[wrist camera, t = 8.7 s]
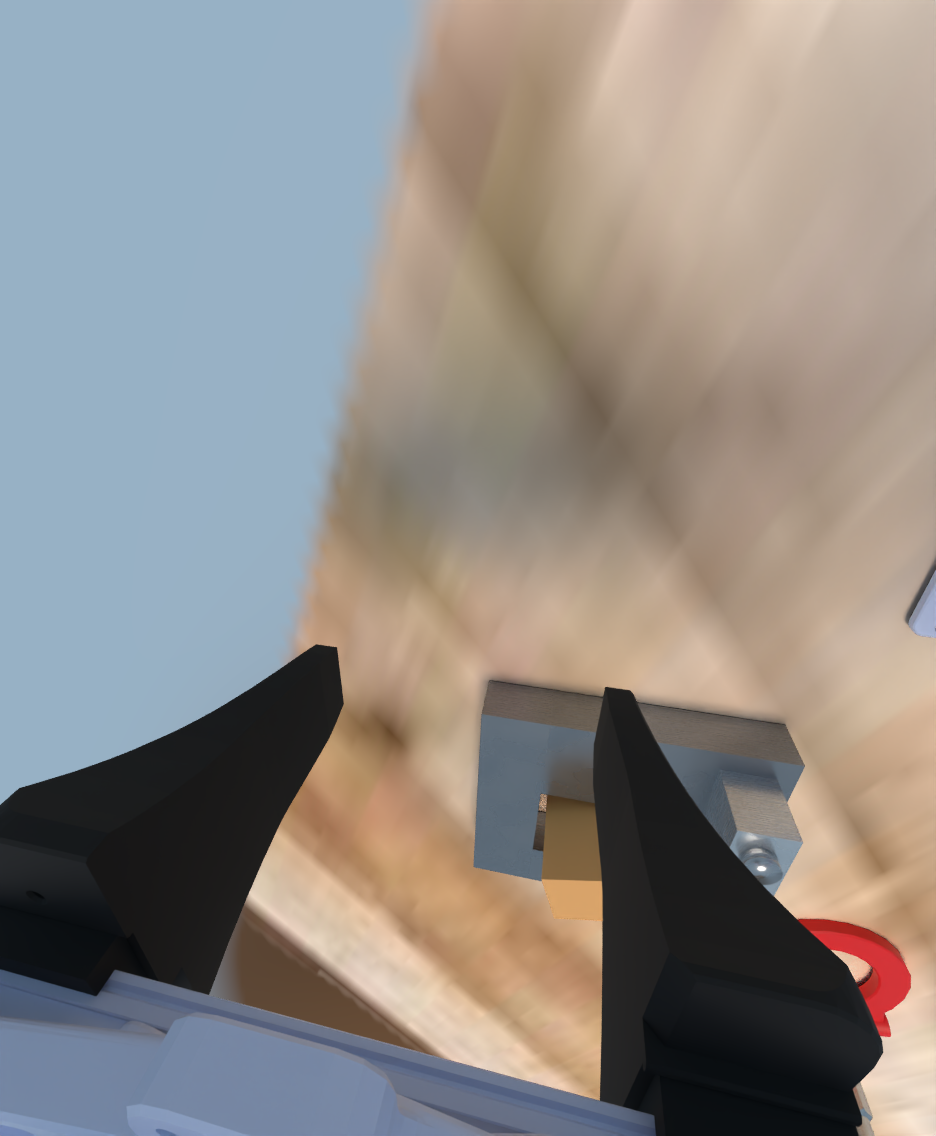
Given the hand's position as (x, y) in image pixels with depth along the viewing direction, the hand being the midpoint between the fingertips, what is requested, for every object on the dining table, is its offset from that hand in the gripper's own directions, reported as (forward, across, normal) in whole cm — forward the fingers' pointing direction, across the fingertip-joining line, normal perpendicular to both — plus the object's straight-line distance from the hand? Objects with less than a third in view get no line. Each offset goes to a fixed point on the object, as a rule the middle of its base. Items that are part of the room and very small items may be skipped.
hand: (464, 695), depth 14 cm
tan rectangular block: (+10, -5, +15) cm, 19 cm away
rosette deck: (+10, -6, +14) cm, 18 cm away
